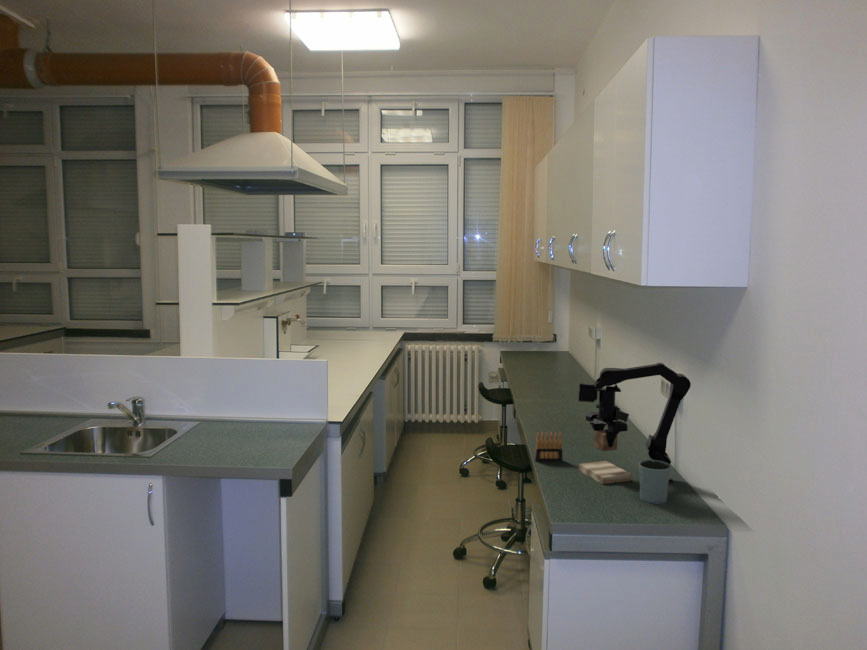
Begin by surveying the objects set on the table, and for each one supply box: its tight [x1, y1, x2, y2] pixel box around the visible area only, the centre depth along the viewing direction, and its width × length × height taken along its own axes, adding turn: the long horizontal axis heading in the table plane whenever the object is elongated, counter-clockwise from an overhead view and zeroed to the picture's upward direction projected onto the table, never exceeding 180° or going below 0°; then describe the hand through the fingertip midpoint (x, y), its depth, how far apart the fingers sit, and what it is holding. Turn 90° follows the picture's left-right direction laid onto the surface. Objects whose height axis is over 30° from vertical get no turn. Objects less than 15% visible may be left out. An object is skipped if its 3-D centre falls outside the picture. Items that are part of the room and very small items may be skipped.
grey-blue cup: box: [638, 459, 672, 505], centre depth 225 cm, size 10×10×12 cm
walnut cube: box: [593, 429, 619, 452], centre depth 248 cm, size 6×6×6 cm
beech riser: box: [578, 460, 632, 485], centre depth 249 cm, size 16×12×2 cm
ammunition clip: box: [534, 430, 563, 463], centre depth 266 cm, size 11×2×12 cm, turn 92°
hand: (605, 444), depth 248 cm, fingers closed on walnut cube, 6 cm apart
